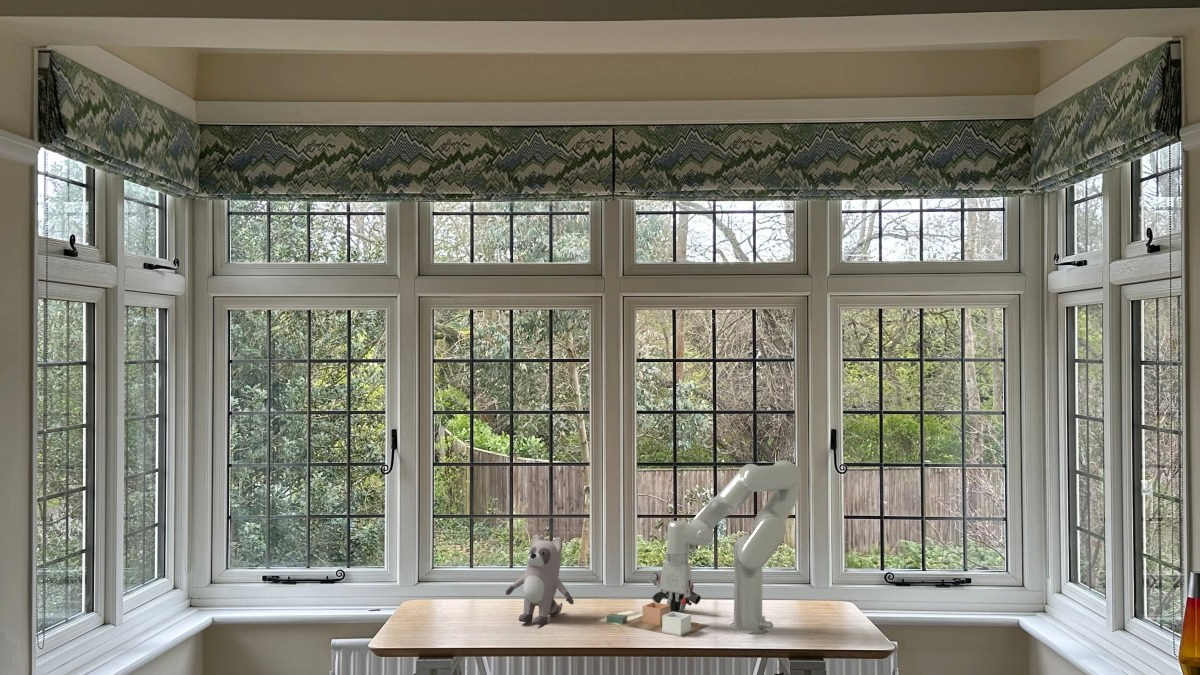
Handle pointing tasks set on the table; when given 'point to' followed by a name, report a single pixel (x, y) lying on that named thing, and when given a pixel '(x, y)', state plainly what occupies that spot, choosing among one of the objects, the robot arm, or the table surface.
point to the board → (636, 622)
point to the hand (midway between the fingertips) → (674, 612)
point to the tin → (617, 618)
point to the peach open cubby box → (654, 613)
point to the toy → (541, 581)
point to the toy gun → (657, 598)
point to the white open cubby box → (676, 623)
